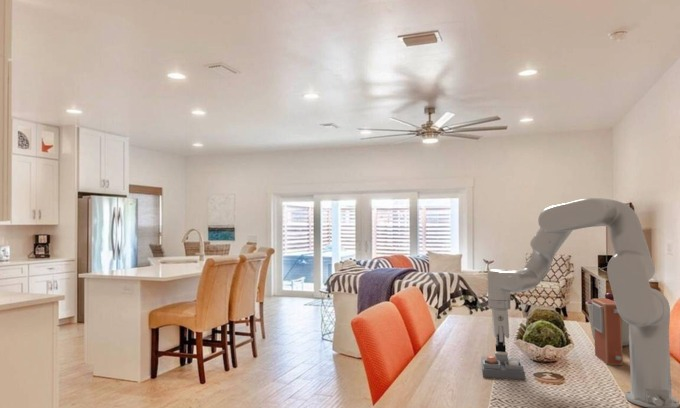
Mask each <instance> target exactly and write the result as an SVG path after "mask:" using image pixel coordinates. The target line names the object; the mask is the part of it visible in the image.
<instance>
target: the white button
mask: <svg viewBox="0 0 680 408" xmlns="http://www.w3.org/2000/svg"><path fill="white" fill-rule="evenodd" d="M508 363H509V365H517V366H519V362H518V361H514V360H510V361H508Z"/></svg>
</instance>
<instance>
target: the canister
mask: <svg viewBox="0 0 680 408" xmlns="http://www.w3.org/2000/svg"><path fill="white" fill-rule="evenodd" d="M593 299H594V298H592V299H589V300H588V301H585V305H586V306H587V311H588V316H589V317H588V318H589V324H590V330H591V335H592V339H593V340H594V341H595V337H594V328H593V314H592V303H593ZM596 299H609V300H611V301H614V302H615V300H614V297H613V293H612V292H606V293H605V294H604V298H603V297H602V298H601V297H599V298H596ZM629 325H630V324H628V323H627V322H625V321H624V320H623V319H622V325H621V329H622V347H625V346H628V345H629Z"/></svg>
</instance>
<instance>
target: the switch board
mask: <svg viewBox="0 0 680 408" xmlns="http://www.w3.org/2000/svg"><path fill="white" fill-rule="evenodd" d="M491 356H495V354H492V355H491ZM510 360H514V361H518V362H519V366H517V365H509V363H508V361H510ZM508 361H504V362H505V363H500V361H497V362H496V363H489V362H487V356H481V369H482V370H481V371H482V377H484V378H495V379H496V378H497V379H511V380H523V381H524V380H525V379H526V374H525V373H526V371H525V370H524V365H523V363H522V361H521V359H520V358H510V356H509V355H508Z"/></svg>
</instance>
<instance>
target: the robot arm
mask: <svg viewBox="0 0 680 408" xmlns="http://www.w3.org/2000/svg"><path fill="white" fill-rule="evenodd" d="M537 222H538V226H539V229H538V230H537V232H536V233H535V234H534V236H533V237H532V239H531V240H530V243H529V244H530V247H531V249H532V254H531V257H530V258H529V260H528V261H527V263H526V264H525V265H524V267H523V268H521V269H517V270H516V269H515V270H507V269H504V268H491V269H489V270H488V271H487V275H486V276H487V300H488V301H487V307H488V309H490V310H491V317H492V329H493V336H494V338H495V341H496V342H495V351H497V352H507V350H506V341H505V340H506V338H507V339H508V340H509V338H510V323H509V312H508V311H509V310H512V309H511V308H512V305H511V293H518V294H519V293H523V292H526V291H532V290H534V289H535V288H536V287H537V286H538V285H539V284H541V282H542V280H543V279H544V278H545V276H546V275H547V274H548V272H549V270H550V268H551V266H552V264H553V261H554V257H555V255H556V254H557V252H558V251H559V250H560V249H561V247H562V246H563V244H564V242H566V240H567V239H568V237H570V235H571V234H572V233H573V231H576V230H581V229H585V228H592V227H593V228H595V227H607V228H608V230H609V232H610V233H609V234H610V240H611V245H612V248H613V251H614V255H612V257H611V258H610V259H609V261H608V263H607V266H606V268H607V269H606V273H607V278H608V282H609V286H610V289H611V293H613V297H614V300H615V304H616V307H617V310H618V313H619V315H620V316H621V318H622V319H623V320H624V321H625V322H627V323H628V324H630V325H629V344H628V345H629V349H628V350H629V365H630V367H629V370H630V389H629V390H626V391H625V394H624V395H625V399H626V400H627V401H629V402H630V403H632V404H635V405H638V406H640V407H645V408H679V407H680V402H679V400H678V399H677V398H676V397H675V396H672V394H673V393H672V380H671V379H672V378H671V377H672V375H671V353H670V352H671V351H670V344H671V343H670V322H671V308H670V306H671V305H670V302H669V300H668V299H667V297H666V296H665V295H664V293H663V292H661V291H660V290H658V289H655V288H652V287H651V285H650V280H651V279H653V277H654V275H655V273H656V272H655V271H656V268H655V265H654V261H653V258H652V255H651V253H650V249H649V246H648V242H647V239H646V237H645V233H644V231H643V227H642V224H641V220H640V219H639V216H638V214H637V212H636V211H635V210H634V209H633V208H632V207H630V206H629V205H628V204H625V203H624V202H621V201H619V200H615V199H609V198H599V197H598V198H597V197H596V198H595V197H587V198H582V199H577V200H573V201H569V202H566V203H561V204H556V205H550V206H548V207H545V208H544V209H542V210H541V212H540V213H539V216H538V221H537Z"/></svg>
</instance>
